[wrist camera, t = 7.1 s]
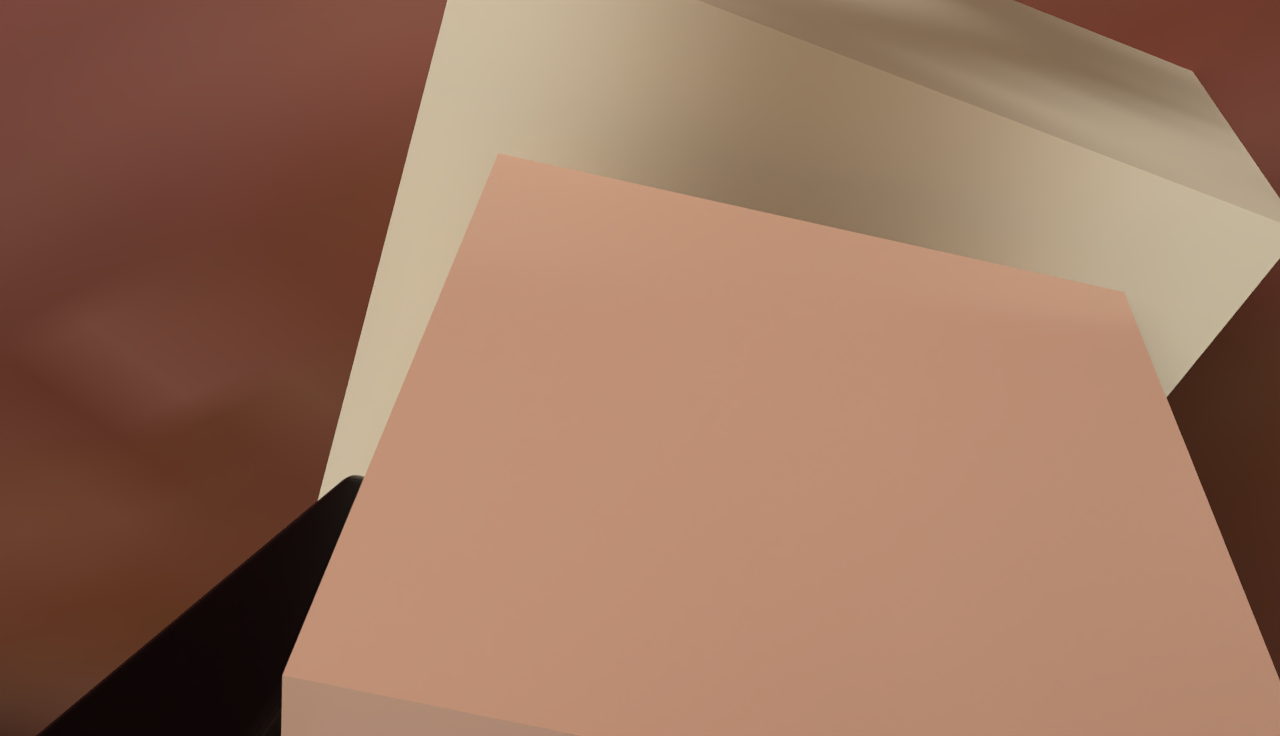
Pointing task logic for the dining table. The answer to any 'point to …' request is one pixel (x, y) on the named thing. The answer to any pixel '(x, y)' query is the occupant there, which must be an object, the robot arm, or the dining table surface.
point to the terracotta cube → (770, 497)
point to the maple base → (835, 151)
